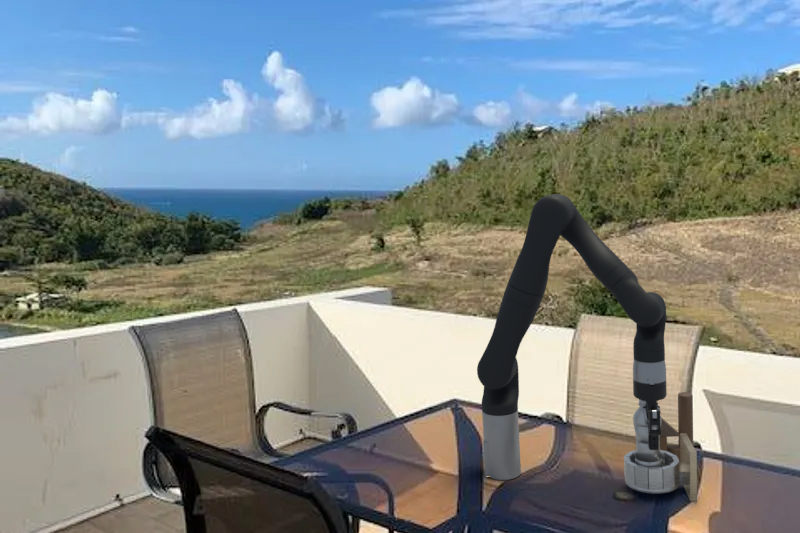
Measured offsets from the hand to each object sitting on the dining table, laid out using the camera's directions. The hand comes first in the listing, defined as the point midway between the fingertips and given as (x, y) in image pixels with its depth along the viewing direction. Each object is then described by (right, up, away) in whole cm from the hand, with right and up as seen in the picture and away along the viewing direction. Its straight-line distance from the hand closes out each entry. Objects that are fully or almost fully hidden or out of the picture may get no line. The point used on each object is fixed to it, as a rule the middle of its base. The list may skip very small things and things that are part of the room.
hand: (650, 442), depth 190 cm
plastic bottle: (0, -9, +3) cm, 9 cm away
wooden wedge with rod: (+11, -9, +18) cm, 23 cm away
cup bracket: (+2, -12, +2) cm, 12 cm away
